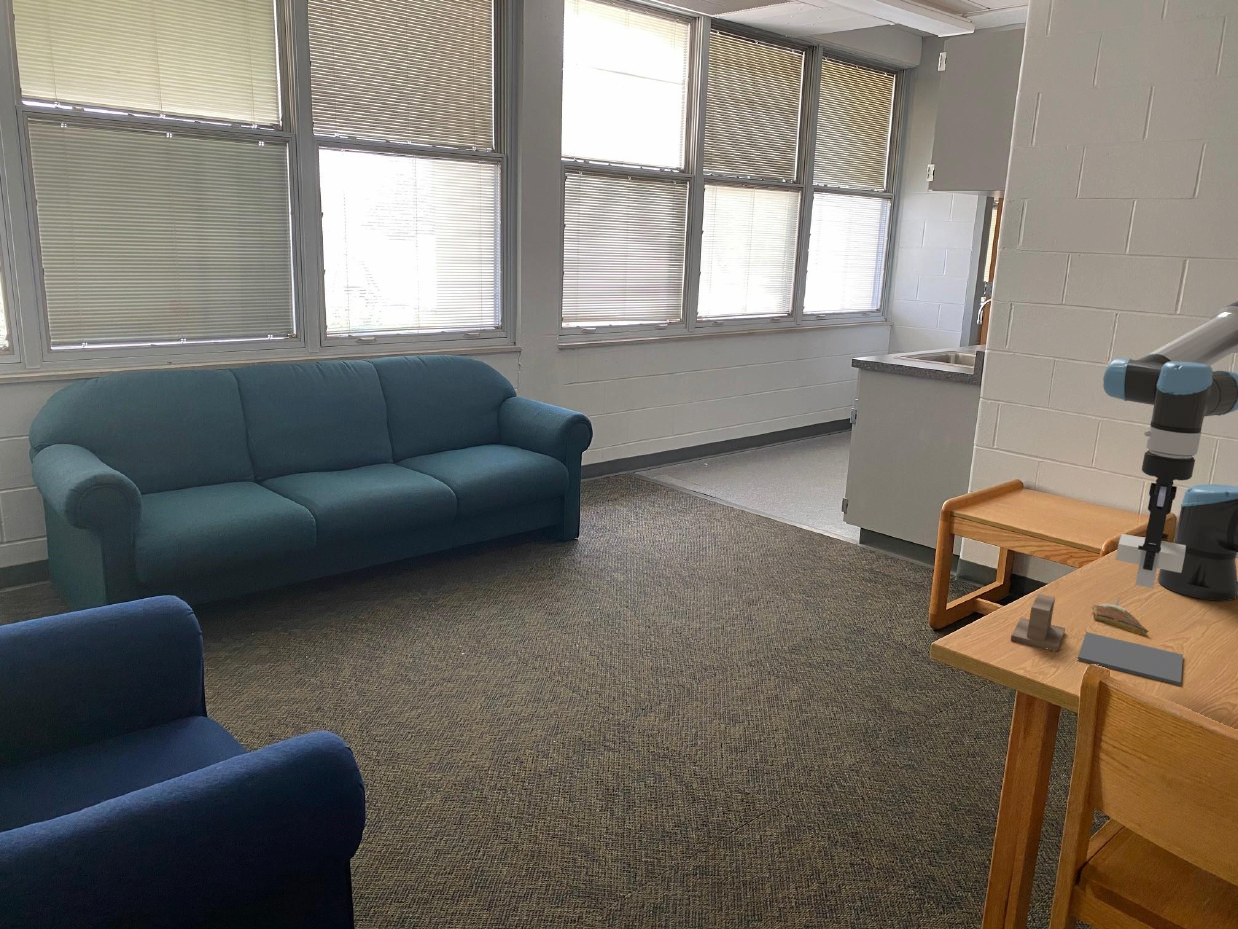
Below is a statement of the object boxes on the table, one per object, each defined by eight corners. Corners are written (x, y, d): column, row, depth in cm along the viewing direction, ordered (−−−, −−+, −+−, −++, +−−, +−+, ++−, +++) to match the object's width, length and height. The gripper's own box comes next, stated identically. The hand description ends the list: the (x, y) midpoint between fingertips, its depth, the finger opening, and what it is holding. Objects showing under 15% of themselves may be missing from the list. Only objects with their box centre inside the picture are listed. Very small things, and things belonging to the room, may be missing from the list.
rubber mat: (1077, 660, 166) (1077, 657, 166) (1085, 634, 177) (1086, 632, 177) (1180, 685, 158) (1180, 682, 158) (1182, 657, 169) (1183, 654, 169)
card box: (1182, 561, 163) (1185, 545, 162) (1181, 573, 157) (1184, 556, 157) (1118, 549, 168) (1121, 533, 167) (1115, 560, 162) (1118, 543, 162)
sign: (1136, 595, 198) (1125, 616, 186) (1135, 598, 198) (1124, 620, 186) (1109, 588, 201) (1097, 609, 189) (1108, 592, 201) (1096, 612, 189)
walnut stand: (1020, 622, 182) (1025, 589, 180) (1064, 632, 178) (1070, 598, 176) (1010, 640, 173) (1016, 605, 172) (1057, 651, 169) (1063, 616, 168)
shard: (1147, 638, 177) (1149, 629, 177) (1105, 635, 178) (1107, 626, 178) (1124, 615, 188) (1125, 607, 187) (1085, 612, 189) (1086, 604, 188)
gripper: (1148, 439, 168) (1126, 559, 174) (1141, 460, 152) (1116, 591, 157) (1196, 446, 164) (1172, 568, 170) (1194, 468, 148) (1167, 602, 154)
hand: (1145, 579), depth 164 cm, fingers closed on card box, 7 cm apart
